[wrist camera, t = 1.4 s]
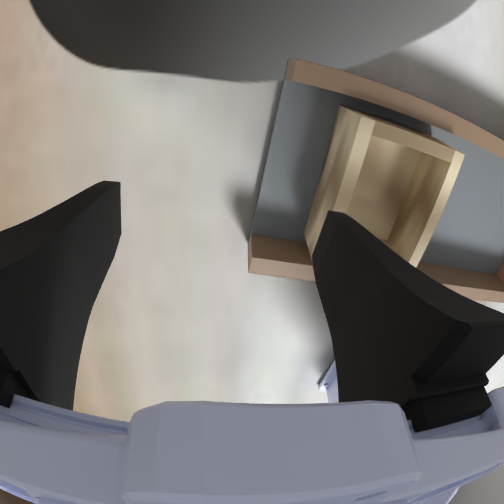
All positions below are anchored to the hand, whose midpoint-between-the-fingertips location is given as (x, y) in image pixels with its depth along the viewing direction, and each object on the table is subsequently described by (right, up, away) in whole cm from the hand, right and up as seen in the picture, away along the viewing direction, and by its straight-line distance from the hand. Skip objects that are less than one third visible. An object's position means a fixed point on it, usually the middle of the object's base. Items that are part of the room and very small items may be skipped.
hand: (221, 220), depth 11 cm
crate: (+9, +4, +10) cm, 14 cm away
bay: (+16, +3, +11) cm, 20 cm away
